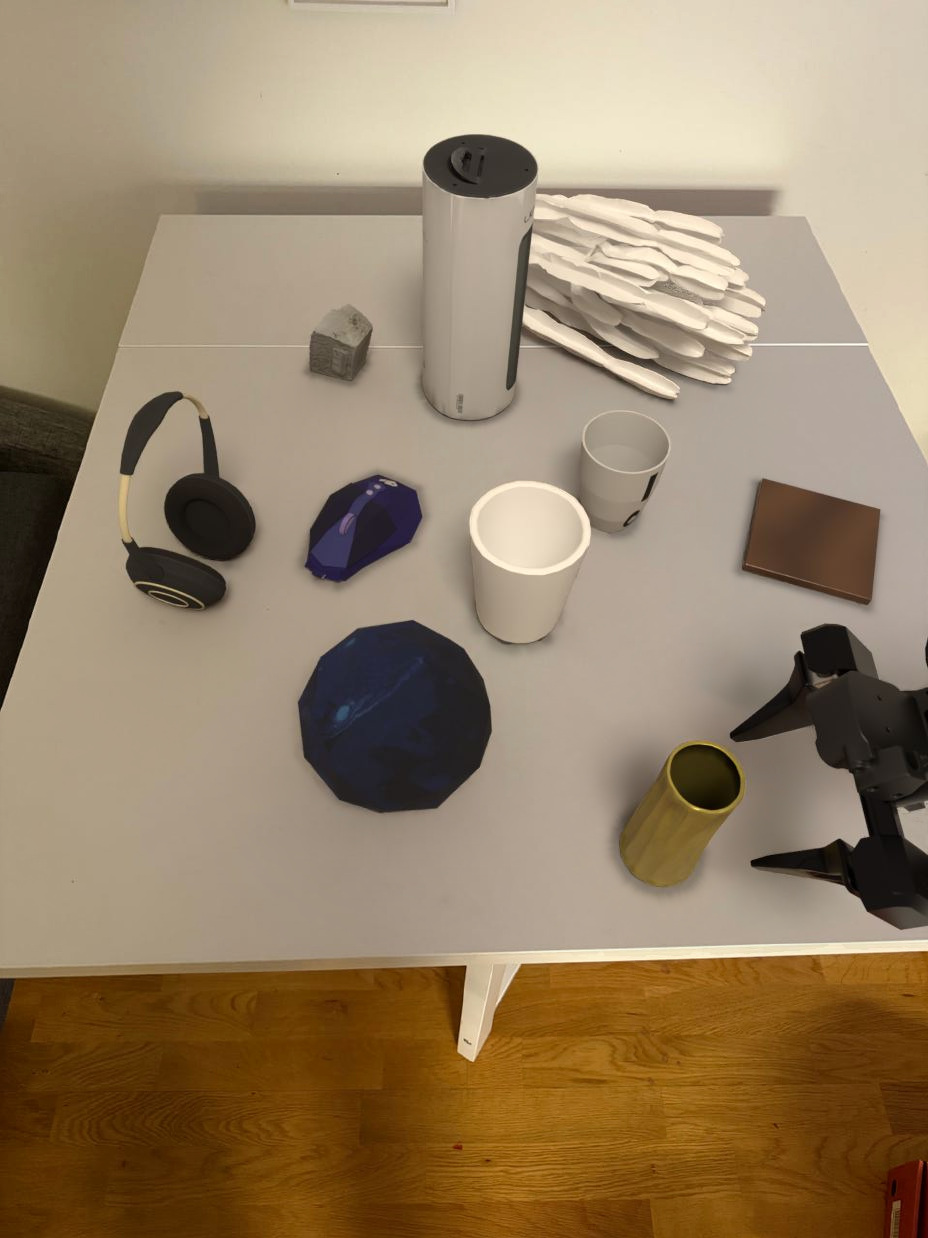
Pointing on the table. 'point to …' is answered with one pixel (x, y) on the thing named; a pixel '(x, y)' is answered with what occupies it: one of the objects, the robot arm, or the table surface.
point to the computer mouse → (362, 526)
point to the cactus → (638, 290)
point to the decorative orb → (395, 718)
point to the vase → (682, 812)
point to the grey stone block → (340, 343)
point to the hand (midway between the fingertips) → (742, 799)
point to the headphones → (185, 517)
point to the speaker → (475, 270)
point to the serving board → (813, 541)
